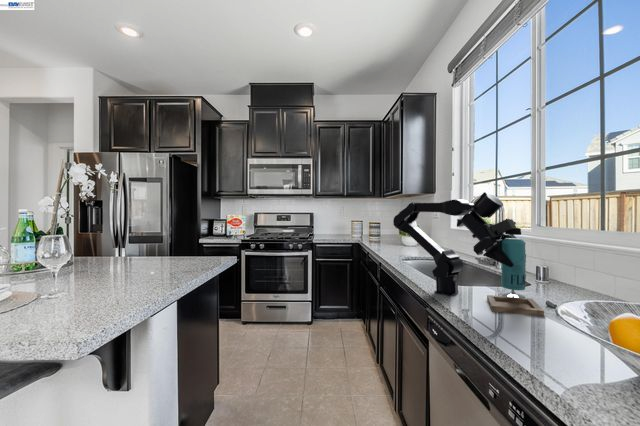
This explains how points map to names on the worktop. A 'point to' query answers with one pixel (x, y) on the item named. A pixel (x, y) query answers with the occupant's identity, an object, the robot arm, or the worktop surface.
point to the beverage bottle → (514, 262)
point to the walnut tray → (514, 305)
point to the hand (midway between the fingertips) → (517, 265)
